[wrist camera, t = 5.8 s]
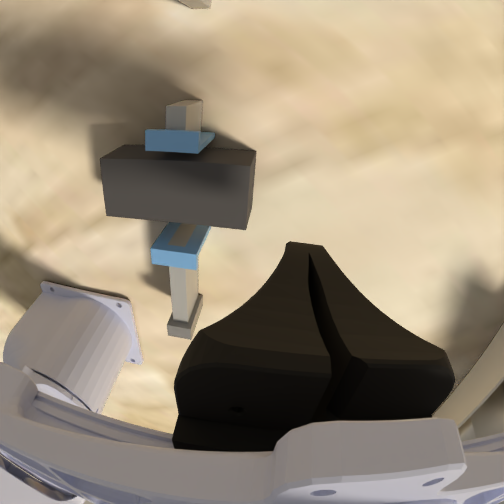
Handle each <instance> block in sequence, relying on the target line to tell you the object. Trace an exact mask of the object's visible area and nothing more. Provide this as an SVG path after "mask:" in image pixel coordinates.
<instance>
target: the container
mask: <svg viewBox="0 0 504 504" xmlns="http://www.w3.org/2000/svg"><path fill="white" fill-rule="evenodd" d="M458 431H459V434H460V438H461V441H467V440H472V439H477V438H481V437H486V436H490V435H494V434H498V433H502V432H504V380H503V382H502V383H501V384H500V385H499V386H498V388H497V389H496V390H495V391H494V392H493V393H492V394H491V395H490V397H489V398H488V399H487V400H486V401H485V402H484V403H483V404H482V405H481V406H480V407H479V408H478V409H477V410H476V411H475V412H474V414H473V415H472V416H471V417H470V418H469V419H468V420H467V421H466V422H464V423H463V424H462V425H461V426H460V427H459V428H458Z"/></svg>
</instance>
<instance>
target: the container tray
mask: <svg viewBox="0 0 504 504" xmlns="http://www.w3.org/2000/svg"><path fill="white" fill-rule="evenodd" d="M503 380H504V323H503V325H502V326H501V328H500V329H499V331H498V332H497V334H496V335H495V337H494V338H493V340H492V341H491V343H490V344H489V346H488V347H487V349H486V350H485V351H484V353H483V354H482V356H481V357H480V358H479V360H478V361H477V362H476V364H475V365H474V366H473V368H472V369H471V370H470V372H469V373H468V374H467V376H466V377H465V378H464V379H463V381H462V382H461V383H460V384H459V386H458V387H457V388H456V389H455V390H454V392H453V393H452V394H451V395H450V396H449V398H448V399H447V400H446V401H445V402H444V403H443V404H442V406H441V407H440V408H439V409H438V410H437V411H436V412H435V413H434V414H433V416H432V418H433V417H438V418H449V419H452V420H454V421H455V423H456V425H457V427H458V428H459V427H460V426H461V425H462V424H463V423H464V422H466V421H467V420H468V419H469V418H470V417H471V416H472V415H473V414H474V412H475V411H476V410H477V409H478V408H479V407H480V406H481V405H482V404H483V403H484V402H485V401H486V400H487V399H488V398H489V397H490V395H491V394H492V393H493V392H494V391H495V390H496V389H497V388H498V386H499V385H500V384H501V383H502V382H503Z"/></svg>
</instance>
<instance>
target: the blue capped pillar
mask: <svg viewBox="0 0 504 504" xmlns="http://www.w3.org/2000/svg"><path fill="white" fill-rule="evenodd" d="M178 1H180V2H181V3H183V4H185V5H186V6H188V7H190V8H191V9H205V8H210V7H211V0H178ZM202 104H203V101H201V100H183V101H180V102H177V103H174V104H170V105H167V106H166V129H147V130H145V151H164V152H181V153H196V154H198V153H199V152H200V151H201V150H202V149H203V148H204V147H206V146H207V145H208V144H209V143H210V142H211V141H212V140H213V139H214V138H215V133H212V132H201V121H202ZM210 229H211V226H204V225H194V224H185V223H175V222H169V223H168V224H167V225H166V227H165V228H164V230H163V231H162V233H161V234H160V235H159V237H158V238H157V240H156V241H155V243H154V244H153V245H152V247H151V248H150V249H151V260H152V264H157V265H164V266H169V274H170V288H171V300H172V311H173V312H172V314H171V317H170V319H169V321H168V324H167V330H168V335H169V336H174V337H179V338H185V339H190V340H191V339H192V336H193V333H194V330H195V327H196V324H197V321H198V318H199V315H200V312H201V309H202V306H203V295H198V255H199V253H200V250H201V248H202V246H203V244H204V242H205V239H206V237H207V235H208V233H209V231H210Z"/></svg>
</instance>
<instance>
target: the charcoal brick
mask: <svg viewBox="0 0 504 504" xmlns="http://www.w3.org/2000/svg"><path fill="white" fill-rule="evenodd" d="M255 163H256V151H249V150H238V149H225V148H210V147H204V148H203V149H202V150H201V151H200V152H199V153H198V154H196V153H181V152H164V151H145V145H123V146H121V147H120V148H118V149H116V150H114V151H112V152H111V153H109V154H107V155H105V156H104V157H102V158H100V165H101V175H102V184H103V193H104V201H105V209H106V216H112V217H123V218H134V219H145V220H155V221H165V222H175V223H185V224H194V225H204V226H213V227H223V228H232V229H241V230H246V228H247V224H248V220H249V216H250V212H251V209H252V200H253V188H254V175H255Z"/></svg>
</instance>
